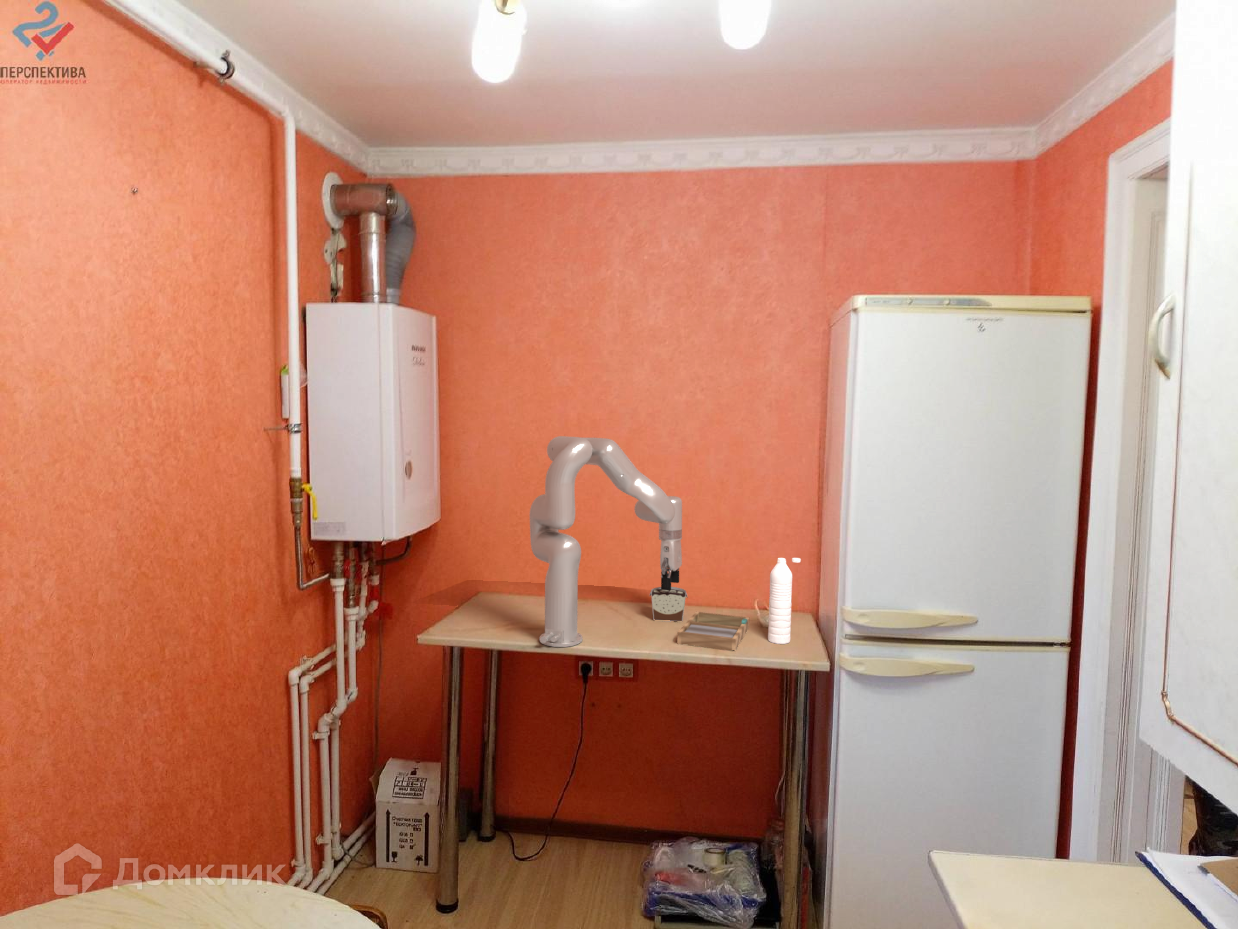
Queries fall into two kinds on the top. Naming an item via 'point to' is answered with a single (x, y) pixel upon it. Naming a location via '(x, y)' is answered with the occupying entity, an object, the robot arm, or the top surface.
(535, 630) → the top surface
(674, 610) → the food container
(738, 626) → the compartment tray
